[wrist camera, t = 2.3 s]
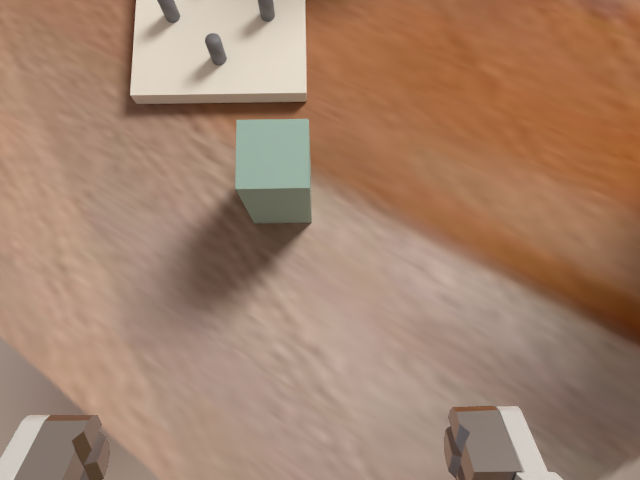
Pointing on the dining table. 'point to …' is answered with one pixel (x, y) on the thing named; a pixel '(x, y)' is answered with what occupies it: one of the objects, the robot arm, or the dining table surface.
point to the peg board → (219, 51)
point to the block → (274, 169)
